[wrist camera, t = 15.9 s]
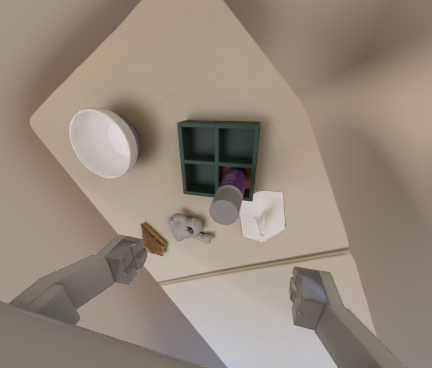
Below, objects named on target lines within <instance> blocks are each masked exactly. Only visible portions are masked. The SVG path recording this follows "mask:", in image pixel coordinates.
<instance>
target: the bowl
mask: <svg viewBox="0 0 432 368" xmlns="http://www.w3.org/2000/svg"><path fill="white" fill-rule="evenodd" d="M69 135H70V141H71V144H72V147H73V149H74V151H75V153H76V155H77V156H78V158H79V159H80V161H81V162H82V163H83V164H84V165H85V166H86V167H87V168H88V169H89V170H91V171H92V172H93V173H95V174H97V175H99V176H102V177H104V178H117V177H120V176H123V175H124V174H126V173H128V172H129V171H130V170H131V169H132V168H133V167H134V165H135V163H136V161H137V159H138V156H139V152H140V140H139V136H138V134H137V132H136V131H135V129H134V128H133V127H132V126H131V125H130V124H129V123H128V122H127V121H126V120H125V119H123V118H122V117H120V116H119V115H117V114H115V113H113V112H111V111H109V110H106V109H101V108H89V109H84V110H81V111H79V112H77V113H76V114H75V115H74V116H73V118H72V120H71V123H70V127H69Z"/></svg>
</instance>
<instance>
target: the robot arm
mask: <svg viewBox="0 0 432 368" xmlns="http://www.w3.org/2000/svg"><path fill="white" fill-rule="evenodd" d="M144 245H145V243H144V240H143V239H139V238H134V237H129V236H124V235H117V236H116V237H115V238H114V239H113V240H112V241H111V242H110V243H108V244H107V245H106V246H105V247H104V248H103V249H102V250H101V251H100V252H98V254H96V255H92V256H89V257H87V258H85V259H83V260H81V261H78V262H76V263H74V264H71V265H69V266H67V267H65V268H62V269H60V270H58V271H56V272H53V273H51V274H49V275H47V276H44V277H42V278H40V279H39V280H37V281H36V282H35V283H34V284H32V285H31V286H30V287H29V288H27V289H26V290H25V291H24V292H22V293H21V294H20V295H19V296H17V297H16V298H15V299H14V300H12V301H11V302H10V303H9V304H7V303H4V302H1V301H0V368H208V367H204V366H201V365H198V364H195V363H192V362H189V361H186V360H183V359H179V358H176V357H173V356H170V355H167V354H163V353H161V352H157V351H154V350H151V349H148V348H145V347H142V346H139V345H135V344H132V343H129V342H126V341H123V340H120V339H116V338H114V337H110V336H107V335H104V334H101V333H98V332H95V331H92V330H89V329H85V328H82V327H79V326H76V323H77V322H78V321H79V320H80V316H79V314H78V312H77V309H78V308H79V307H81V306H82V305H84V304H85V303H86V302H88V301H89V300H91V299H92V298H94V297H95V296H97V295H98V294H100V293H101V292H103V291H104V290H105V289H107V288H108V287H110V286H111V285H113V284H114V283H115V282H119V283H124V284H128V285H129V284H130V282H131V281H132V280H133V279H134V277H135V276H136V274H137V270H138V269H139V268H141V267H142V266H143V265H144V263H145V261H146V258H147V251H146V249H145V248H144V247H143V246H144ZM289 290H290V299H291V301H292V302H293V306H292V314H293V321H294V325H297V326H301V327H304V328H308V329H312V330H315V333H316V334H317V336H318V337H319V339H320V340H321V342H322V344H323V345H324V347H325V348H326V350H327V351H328V353H329V354H330V356H331V357H332V359H333V361H334V362H335V364H336V365H337V367H338V368H406V367H405V366H404V365H403V364H402V363H401V362H400V361H399V360H398V359H397V358H396V357H395V356H394V355H393V354H392V352H391V351H390V350H389V349H388V348H387V347H385V345H384V344H383V343H381V341H379V339H378V338H377V337H376V336H375V335H374V334H373V333H372V332H371V331H370V330H369V329H368V328H367V327H366V326H365V325H364V324H363V323H362V322H361V321H360V320H359V319H358V318H357V317H356V316H355V315H354V314H353V313H352V312H351V311H350V310H349V309H346V308H345V307H344V305H343V302H342V300H341V297H340V295H339V292H338V290H337V287H336V285H335V282H334V280H333V277H332V275H331V273H330V272H325V271H319V270H314V269H308V268H302V267H296V266H295V267H294V268H293V277H292V278H291V280H290V288H289Z"/></svg>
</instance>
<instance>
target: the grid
mask: <svg viewBox="0 0 432 368" xmlns="http://www.w3.org/2000/svg"><path fill="white" fill-rule="evenodd" d="M177 125H178V136H179V147H180V158H181V169H182V180H183V192H184V194H190V195H199V196H208V197H215V195H216V192H217V190H218V188H219V186H220V184H221V182H222V180H223V178H224V176H225V174H226V172H227V170H228V169H229V168H230V167H238V168H244V169H245V170H246V172H247V180H246V185H245V190H244V195H243V201H253V193H254V182H255V172H256V162H257V151H258V141H259V131H260V122H243V121H199V120H185V121H182V122H178V123H177Z"/></svg>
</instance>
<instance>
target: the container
mask: <svg viewBox="0 0 432 368" xmlns="http://www.w3.org/2000/svg"><path fill="white" fill-rule="evenodd" d="M246 180H247V172H246V170H245V169H244V168H238V167H230V168H229V169H228V170H227V172H226V174H225V176H224V178H223V180H222V182H221V184H220V186H219V188H218V190H217V192H216V195H215V197H214V199H213V201H212V204H211V206H210V209H209V212H210V216H211V217H212V219H213V220H214V221H216V222H217V223H219V224H222V225H229V224H232V223H234V222H235V221H236V220H237V218H238V215H239V211H240V208H241V204H242V200H243V195H244V190H245V185H246Z"/></svg>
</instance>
